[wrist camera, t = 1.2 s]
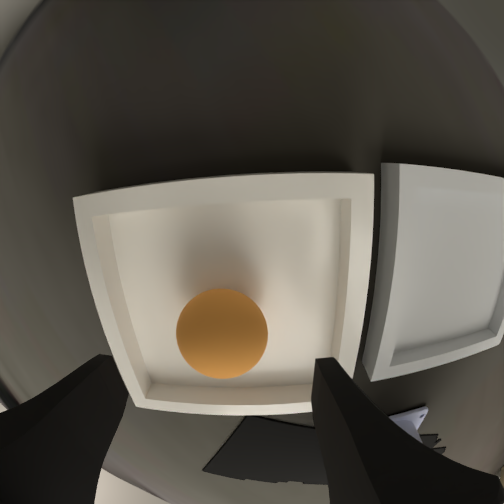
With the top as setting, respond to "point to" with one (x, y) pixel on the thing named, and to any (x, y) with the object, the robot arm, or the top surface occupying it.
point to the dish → (231, 279)
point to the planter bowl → (502, 476)
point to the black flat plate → (277, 453)
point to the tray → (436, 269)
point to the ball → (221, 333)
